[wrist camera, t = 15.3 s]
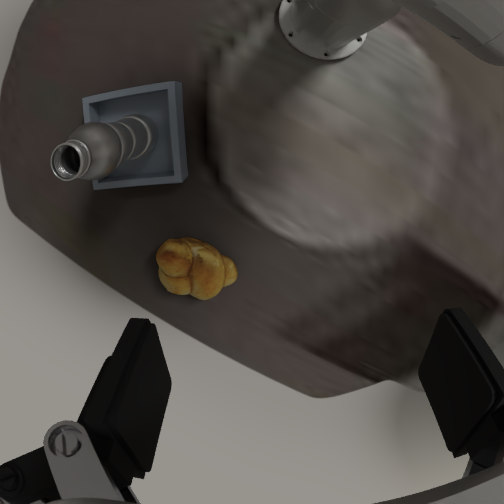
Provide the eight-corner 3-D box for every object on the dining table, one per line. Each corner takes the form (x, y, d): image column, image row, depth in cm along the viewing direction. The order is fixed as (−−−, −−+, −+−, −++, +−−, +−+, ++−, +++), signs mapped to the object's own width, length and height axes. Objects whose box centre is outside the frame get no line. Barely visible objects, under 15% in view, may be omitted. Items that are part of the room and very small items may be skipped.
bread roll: (246, 252, 51) (244, 278, 44) (224, 297, 55) (219, 327, 48) (171, 221, 49) (157, 243, 42) (155, 270, 53) (141, 296, 46)
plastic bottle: (164, 151, 43) (102, 190, 25) (123, 158, 44) (46, 200, 26) (159, 108, 40) (90, 119, 22) (117, 117, 41) (33, 136, 23)
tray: (95, 97, 40) (82, 98, 36) (181, 82, 39) (174, 80, 36) (105, 183, 46) (93, 190, 42) (188, 175, 46) (182, 182, 42)
